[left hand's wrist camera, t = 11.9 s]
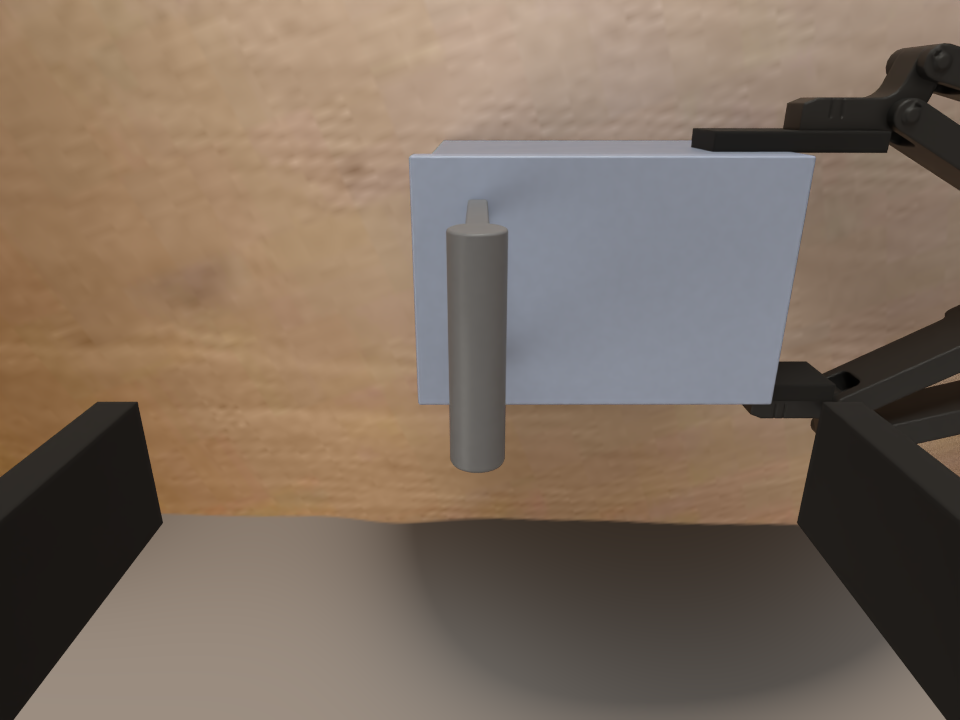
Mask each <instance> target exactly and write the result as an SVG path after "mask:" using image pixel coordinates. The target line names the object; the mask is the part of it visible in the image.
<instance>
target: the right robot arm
mask: <svg viewBox="0 0 960 720" xmlns="http://www.w3.org/2000/svg"><path fill="white" fill-rule="evenodd" d="M886 74H887V76H886V78H885V80H884V81H883V83H882V85H881V86H880V88H879V89H878V90H877V91H876V92H875V93H873V94H872V95H870V96H867V97H863V98H799V99H797V100H794V101H792V102H789V103H787V108H786V114H785V121H784V127H783V128H693V134H692V143H691V147H692V148H697V149H702V150H706V151H711V152H794V153H887V150H888V146H889V145H891V146H892V147H894V148H895V149H897V150H898V151H900V152H901V153H903V154H905V155H906V156H908V157H909V158H911V159H912V160H914V161H915V162H917V163H918V164H920V165H921V166H923V167H924V168H926V169H928V170H929V171H931V172H932V173H934V174H935V175H937V176H938V177H940V178H941V179H943V180H944V181H946V182H947V183H949V184H951V185H952V186H954V187H955V188H957V189H958V190H960V125H959V124H957V123H956V122H954V121H953V120H951V119H950V118H948V117H947V116H945V115H944V114H942V113H941V112H939V111H938V110H936V109H935V108H933V107H932V106H930V105H929V104H927V102H928V101H929V99H930V97H931V95H932V94H933V93H934V94H937V95H940V96H943V97H947V98H950V99H953V100H957V101H960V47H959V46H956V45H953V44H946V43H943V44H935V45H927V46H919V47H911V48H903V49H900V50H897V51H896V52H895V53H893V54H892V55H891V56H890V58H889V59H888V61H887V65H886ZM958 373H960V305H958V306H956V307H954V308H952V309H950V310H948V311H947V312H946V313H945V318H944V319H942V320H940V321H938V322H936V323H934V324H931V325H929V326H927V327H925V328H923V329H920V330H918V331H916V332H914V333H912V334H909V335H907V336H905V337H903V338H901V339H898V340H896V341H894V342H892V343H890V344H887V345H885V346H883V347H881V348H878V349H876V350H874V351H872V352H870V353H867V354H865V355H863V356H861V357H859V358H856V359H854V360H852V361H850V362H848V363H845V364H843V365H841V366H839V367H837V368H834V369H832V370H830V371H828V372H826V373H823V374H821V373H820V372H819V371H818V370H816V369H815V368H814V367H812V366H811V365H810V364H809V363H807V362H779V363H778V369H777V374H776V380H775V386H774V391H773V397H772V402H771V404H742V405H743V406H744V407H745V408H746V410H747V411H748V412H749V413H750V414H751V415H754V416H757V417H759V418H813V419H812V420H811V428H812V430H813V431H814V432H815V433H816V431H817V426H818V421H819V416H820V412H821V407H822V402H863V403H865V404H866V405H867V406H868V407H870V408H871V409H872V410H874V411H875V412H876V413H877V414H879V415H880V416H881V417H883V418H884V419H885V420H886V421H888V422H889V423H890V424H892V425H893V426H894V427H895V428H897V429H898V430H899V431H901V432H902V433H903V434H904V435H906V436H907V437H908V438H910V439H911V440H912V441H913V442H915V443H916V444H918V443H923V442H927V441H932V440H936V439H941V438H946V437H950V436H955V435H959V434H960V380H959V381H955V382H951V383H946V384H942V385H937V386H933V387H929V388H926V387H928V386H931V385H933V384H935V383H938V382H940V381H942V380H944V379H947V378H949V377H951V376H954V375H956V374H958Z"/></svg>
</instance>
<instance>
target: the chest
mask: <svg viewBox="0 0 960 720" xmlns="http://www.w3.org/2000/svg"><path fill="white" fill-rule="evenodd" d="M691 143H692V140H444V141H443V142H442V143H441V144H440V145H439V146H438V147H437V148H436V150H435V151H434V152H433V153H432V154H800V153H794V152H711V151H706V150H702V149H697V148H692V147H691Z"/></svg>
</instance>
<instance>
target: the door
mask: <svg viewBox="0 0 960 720" xmlns="http://www.w3.org/2000/svg"><path fill="white" fill-rule="evenodd" d="M815 160H816V157H815V156H812V155H806V154H412V155H411V156H410V157H409V173H410V199H411V225H412V251H413V277H414V303H415V329H416V356H417V382H418V403H419V404H420V405H449V412H450V459H451V462H452V463H453V465H454V466H455V467H457V468H458V469H460V470H463V471H466V472H472V473H483V472H489V471H492V470H495V469H497V468H498V467H500V466H501V465H502V463H503V462H504V459H505V405H510V404H771V402H772V397H773V391H774V386H775V380H776V374H777V369H778V363H779V358H780V352H781V347H782V341H783V336H784V330H785V325H786V319H787V314H788V308H789V303H790V297H791V292H792V286H793V281H794V275H795V270H796V264H797V259H798V253H799V248H800V242H801V237H802V231H803V226H804V220H805V215H806V209H807V204H808V198H809V193H810V187H811V182H812V176H813V171H814V165H815Z"/></svg>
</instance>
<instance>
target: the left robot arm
mask: <svg viewBox="0 0 960 720" xmlns="http://www.w3.org/2000/svg"><path fill="white" fill-rule="evenodd" d="M162 523H163V521H162V516H161V511H160V507H159V502H158V497H157V492H156V488H155V483H154V478H153V473H152V469H151V464H150V459H149V454H148V450H147V445H146V440H145V435H144V431H143V426H142V421H141V416H140V412H139V407H138V402H97V403H95V404H94V405H93V406H92V407H90V408H89V409H88V410H86V411H85V412H84V413H83V414H81V415H80V416H79V417H77V418H76V419H75V420H74V421H72V422H71V423H70V424H68V425H67V426H66V427H65V428H63V429H62V430H61V431H59V432H58V433H57V434H56V435H54V436H53V437H52V438H50V439H49V440H48V441H47V442H45V443H44V444H43V445H41V446H40V447H39V448H38V449H36V450H35V451H34V452H32V453H31V454H30V455H29V456H27V457H26V458H25V459H23V460H22V461H21V462H19V463H18V464H17V465H16V466H14V467H13V468H12V469H10V470H9V471H8V472H7V473H5V474H4V475H3V476H1V477H0V720H14V718H15V717H16V716H17V715H18V713H19V712H20V711H21V709H22V708H23V707H24V705H25V704H26V703H27V701H28V700H29V699H30V697H31V696H32V695H33V693H34V692H35V691H36V689H37V688H38V687H39V686H40V684H41V683H42V682H43V680H44V679H45V678H46V676H47V675H48V674H49V672H50V671H51V670H52V668H53V667H54V666H55V664H56V663H57V662H58V661H59V659H60V658H61V656H62V655H63V654H64V653H65V651H66V650H67V649H68V647H69V646H70V645H71V643H72V642H73V641H74V639H75V638H76V637H77V635H78V634H79V633H80V632H81V630H82V629H83V628H84V626H85V625H86V624H87V622H88V621H89V620H90V618H91V617H92V616H93V614H94V613H95V612H96V610H97V609H98V608H99V606H100V605H101V604H102V602H103V601H104V600H105V599H106V597H107V596H108V595H109V593H110V592H111V591H112V589H113V588H114V587H115V585H116V584H117V583H118V581H119V580H120V579H121V577H122V576H123V575H124V574H125V572H126V571H127V570H128V568H129V567H130V566H131V564H132V563H133V562H134V560H135V559H136V558H137V556H138V555H139V554H140V552H141V551H142V550H143V548H144V547H145V546H146V544H147V543H148V542H149V541H150V539H151V538H152V537H153V535H154V534H155V533H156V531H157V530H158V529H159V527H160V526H161V525H162ZM797 523H798V525H799V526H800V527H801V529H802V530H803V531H804V533H805V534H806V535H807V537H808V538H809V539H810V541H811V542H812V543H813V545H814V546H815V547H816V548H817V550H818V551H819V552H820V554H821V555H822V556H823V558H824V559H825V560H826V562H827V563H828V564H829V566H830V567H831V568H832V570H833V571H834V572H835V573H836V575H837V576H838V577H839V579H840V580H841V581H842V583H843V584H844V585H845V587H846V588H847V589H848V591H849V592H850V593H851V595H852V596H853V597H854V599H855V600H856V601H857V603H858V604H859V605H860V606H861V608H862V609H863V610H864V612H865V613H866V614H867V616H868V617H869V618H870V620H871V621H872V622H873V623H874V625H875V626H876V628H877V629H878V630H879V632H880V633H881V634H882V635H883V637H884V638H885V639H886V641H887V642H888V643H889V645H890V646H891V647H892V649H893V650H894V651H895V653H896V654H897V655H898V657H899V658H900V659H901V660H902V662H903V663H904V664H905V666H906V667H907V668H908V670H909V671H910V672H911V674H912V675H913V676H914V678H915V679H916V680H917V682H918V683H919V684H920V686H921V687H922V688H923V689H924V691H925V692H926V693H927V695H928V696H929V697H930V699H931V700H932V701H933V703H934V704H935V705H936V707H937V708H938V709H939V710H940V712H941V713H942V715H943V716H944V717H945V719H946V720H960V477H959V476H957V475H956V474H955V473H953V472H952V471H951V470H950V469H948V468H947V467H946V466H944V465H943V464H942V463H941V462H939V461H938V460H937V459H935V458H934V457H933V456H931V455H930V454H929V453H928V452H926V451H925V450H924V449H922V448H921V447H920V446H919V445H917V444H916V443H915V442H913V441H912V440H911V439H910V438H908V437H907V436H906V435H904V434H903V433H902V432H901V431H899V430H898V429H897V428H895V427H894V426H893V425H892V424H890V423H889V422H888V421H886V420H885V419H884V418H883V417H881V416H880V415H879V414H877V413H876V412H875V411H874V410H872V409H871V408H870V407H868V406H867V405H866V404H865V403H863V402H822V407H821V412H820V416H819V421H818V426H817V431H816V435H815V440H814V445H813V450H812V454H811V459H810V464H809V469H808V473H807V478H806V483H805V488H804V492H803V497H802V502H801V507H800V511H799V516H798V521H797Z"/></svg>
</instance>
